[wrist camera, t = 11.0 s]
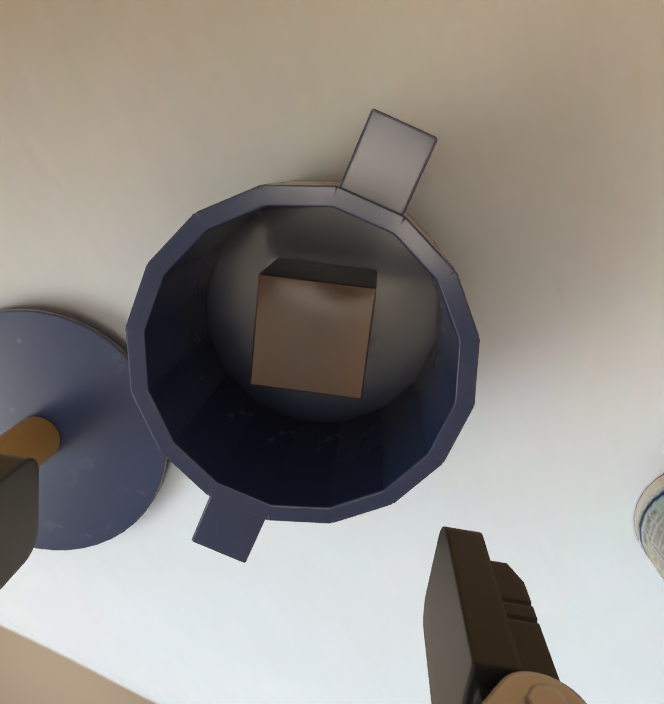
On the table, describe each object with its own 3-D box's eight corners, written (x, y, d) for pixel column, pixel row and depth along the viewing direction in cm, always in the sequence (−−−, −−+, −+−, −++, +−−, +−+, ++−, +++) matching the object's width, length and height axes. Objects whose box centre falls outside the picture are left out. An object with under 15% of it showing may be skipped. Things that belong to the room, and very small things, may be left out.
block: (268, 353, 31) (249, 384, 27) (277, 257, 30) (258, 273, 25) (364, 365, 31) (361, 399, 27) (377, 270, 30) (376, 288, 25)
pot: (146, 416, 33) (65, 501, 25) (270, 78, 28) (223, 37, 20) (363, 508, 34) (358, 622, 25) (523, 192, 29) (584, 201, 20)
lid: (-96, 482, 36) (-189, 543, 30) (-41, 263, 32) (-136, 284, 26) (127, 574, 36) (79, 651, 30) (207, 370, 32) (169, 413, 27)
